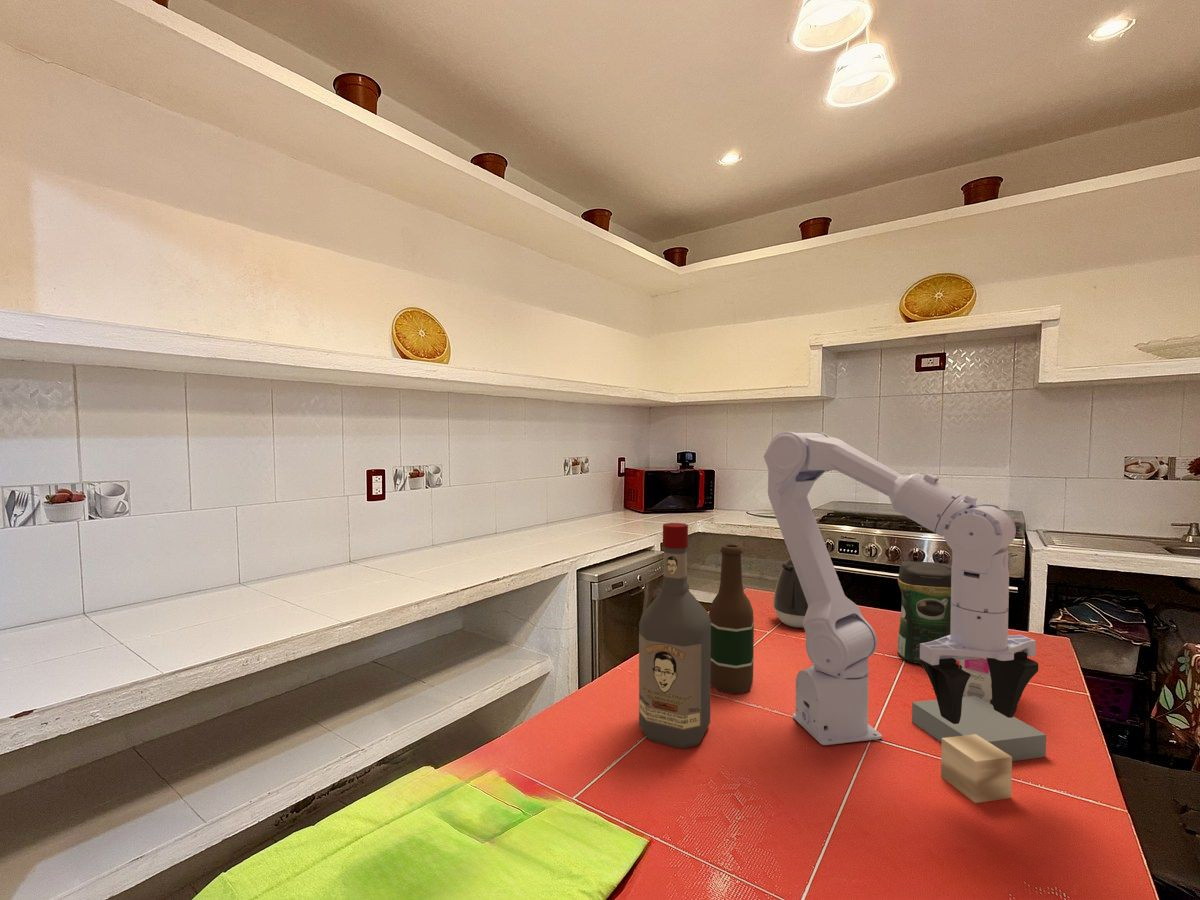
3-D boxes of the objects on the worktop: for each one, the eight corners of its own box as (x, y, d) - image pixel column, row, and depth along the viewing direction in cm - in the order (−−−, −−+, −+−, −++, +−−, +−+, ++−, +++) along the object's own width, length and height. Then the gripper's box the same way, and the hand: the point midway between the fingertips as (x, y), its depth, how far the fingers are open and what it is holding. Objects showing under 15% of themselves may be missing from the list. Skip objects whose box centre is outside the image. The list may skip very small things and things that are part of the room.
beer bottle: (723, 670, 99) (724, 539, 99) (762, 684, 94) (763, 545, 93) (698, 684, 94) (699, 545, 93) (738, 699, 88) (739, 552, 88)
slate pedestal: (974, 766, 71) (975, 743, 71) (911, 721, 82) (912, 702, 81) (1045, 756, 73) (1046, 734, 73) (974, 714, 84) (975, 695, 83)
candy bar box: (996, 716, 83) (998, 610, 83) (957, 706, 86) (959, 603, 86) (1001, 689, 92) (1003, 593, 91) (965, 681, 95) (967, 587, 94)
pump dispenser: (763, 622, 124) (763, 556, 124) (790, 613, 131) (790, 550, 130) (803, 635, 116) (804, 565, 116) (830, 625, 122) (831, 558, 122)
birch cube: (974, 803, 64) (975, 761, 64) (940, 777, 69) (941, 738, 68) (1011, 798, 65) (1012, 756, 64) (975, 772, 70) (975, 734, 69)
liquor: (655, 708, 86) (656, 518, 85) (713, 721, 82) (714, 522, 81) (634, 738, 77) (634, 527, 76) (697, 754, 73) (697, 532, 72)
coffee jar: (949, 654, 106) (950, 559, 106) (961, 671, 99) (963, 569, 98) (893, 647, 110) (894, 556, 109) (901, 663, 102) (902, 565, 102)
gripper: (954, 620, 61) (952, 740, 61) (1062, 612, 63) (1059, 727, 64) (907, 601, 68) (905, 709, 68) (1006, 595, 70) (1004, 699, 71)
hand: (976, 716), depth 66 cm, fingers open, 7 cm apart
